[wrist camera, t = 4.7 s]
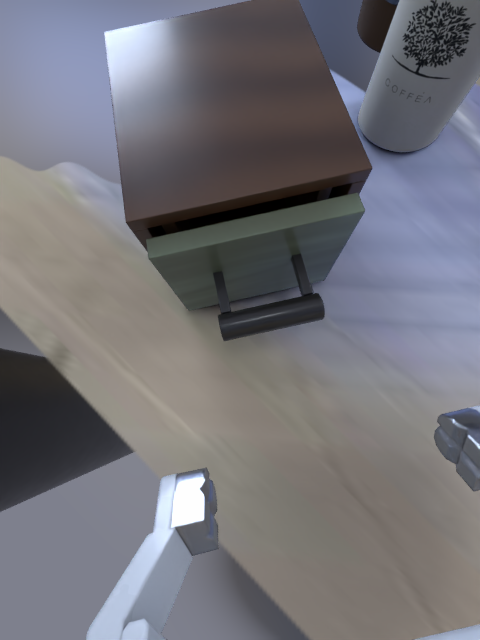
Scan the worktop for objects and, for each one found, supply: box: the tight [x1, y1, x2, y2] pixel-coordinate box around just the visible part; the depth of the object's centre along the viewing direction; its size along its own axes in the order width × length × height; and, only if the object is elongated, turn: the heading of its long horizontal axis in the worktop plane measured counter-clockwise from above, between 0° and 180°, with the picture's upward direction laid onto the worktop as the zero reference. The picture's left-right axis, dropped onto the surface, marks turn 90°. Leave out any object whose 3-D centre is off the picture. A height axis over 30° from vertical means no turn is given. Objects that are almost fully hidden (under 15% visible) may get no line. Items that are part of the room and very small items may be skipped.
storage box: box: [104, 0, 372, 252], centre depth 21 cm, size 15×13×11 cm
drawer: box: [146, 188, 365, 341], centre depth 20 cm, size 18×11×9 cm, turn 12°
